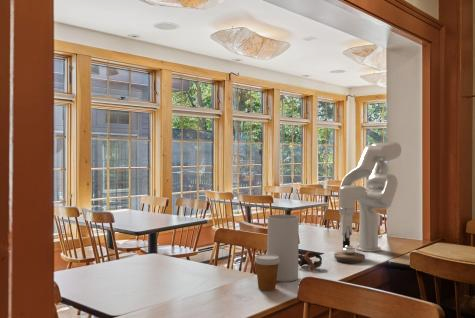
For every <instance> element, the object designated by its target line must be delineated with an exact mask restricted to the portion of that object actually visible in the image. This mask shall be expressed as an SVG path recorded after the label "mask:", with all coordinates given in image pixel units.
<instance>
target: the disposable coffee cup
mask: <svg viewBox="0 0 475 318" xmlns="http://www.w3.org/2000/svg"><path fill="white" fill-rule="evenodd" d="M253 260H254V262H255V269H256V270H255V271H256V277H257V278H256V279H257V286H258V290H260V291H264V292H271V291H275V290H276V285H277V281H276V279H277V272H278V264H279V261H280V260H279V257H278V256H277V255H272V254H267V253H262V254H257V255H255V258H254V259H253Z"/></svg>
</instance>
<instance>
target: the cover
mask: <svg viewBox="0 0 475 318" xmlns="http://www.w3.org/2000/svg"><path fill="white" fill-rule="evenodd" d="M341 252H342V254H345V255H354V254H355V252H356V247H353V245H351V244H350V245H345V247H343V246H342V251H341Z"/></svg>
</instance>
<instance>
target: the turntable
mask: <svg viewBox="0 0 475 318" xmlns="http://www.w3.org/2000/svg"><path fill="white" fill-rule="evenodd" d="M334 258H335V259H336V260H337V261H338V262H341V263H346V264H358V263H361V262H362V261H365V259H366V254H364V253H360V252H357V251H355V254H354V255H345V254H342V251H339V252H338V251H337V252H335V253H334Z"/></svg>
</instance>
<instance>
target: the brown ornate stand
mask: <svg viewBox="0 0 475 318" xmlns="http://www.w3.org/2000/svg"><path fill="white" fill-rule="evenodd" d="M313 256H315V258H316V259H319V260H315V261H314V262H313V259H311V258H312V257H313ZM322 264H323V260H322V256H321V255H320V254H319V253H317V252H315V251H311V250H310V251H307V252H306V253H305V254H303V255H302V254H299V253H298V266H299V267H301V268H302V267H303V266H309V267H308V269H309V271H314V269H318V268H320V267H322Z"/></svg>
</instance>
